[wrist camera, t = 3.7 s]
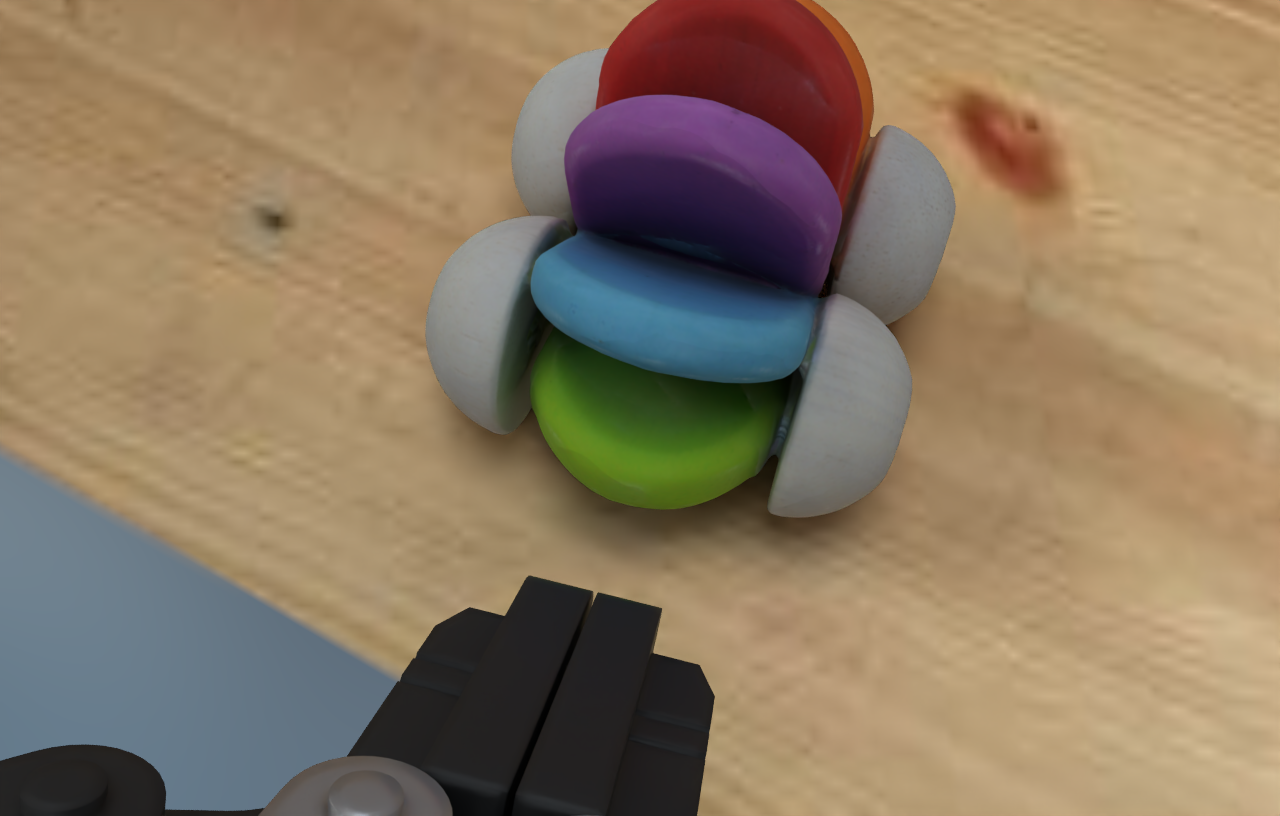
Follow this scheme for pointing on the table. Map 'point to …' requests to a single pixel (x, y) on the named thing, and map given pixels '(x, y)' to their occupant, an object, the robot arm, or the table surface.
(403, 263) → the table surface
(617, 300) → the rainbow wheeled toy
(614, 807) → the robot arm
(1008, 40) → the table surface
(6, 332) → the table surface
